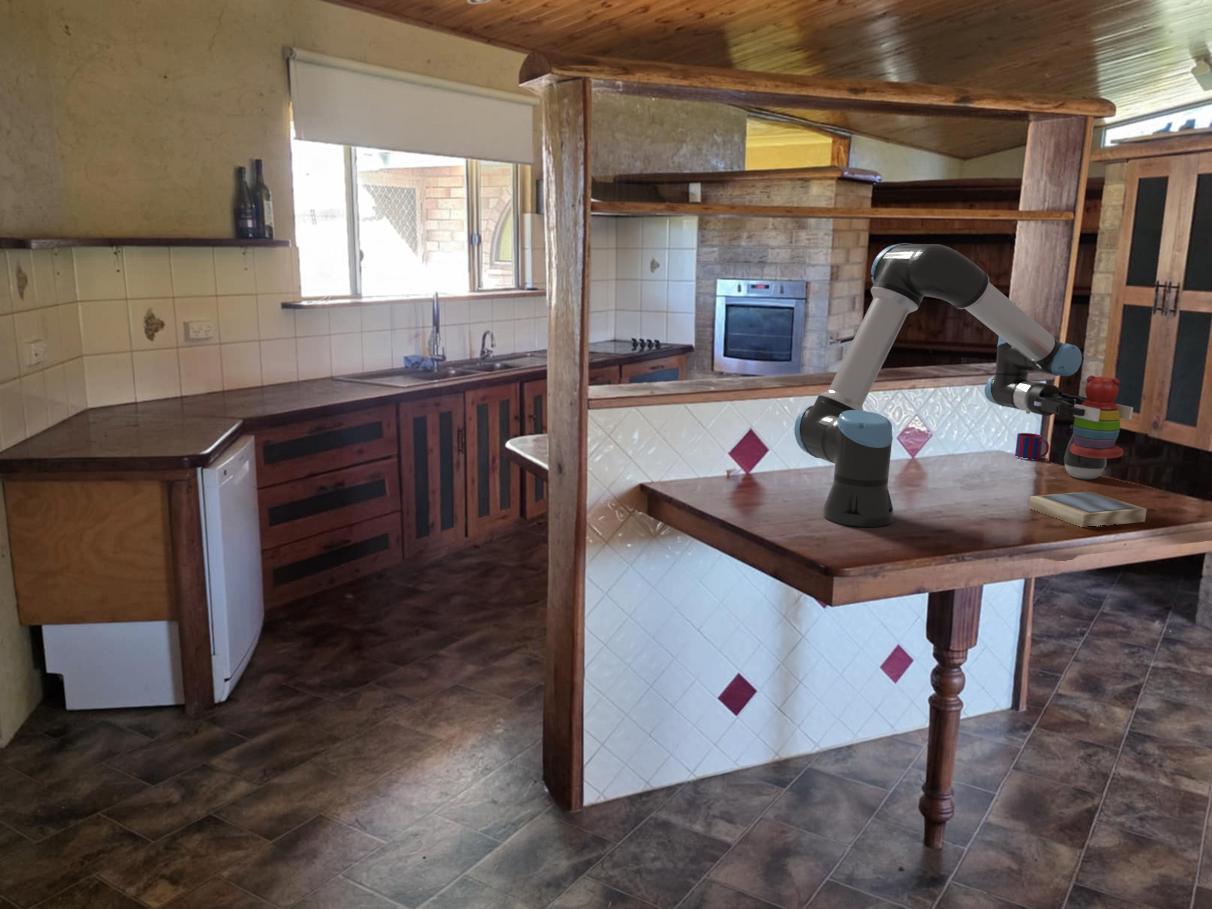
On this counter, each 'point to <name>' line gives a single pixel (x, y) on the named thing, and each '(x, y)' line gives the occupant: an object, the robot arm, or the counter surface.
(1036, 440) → the mug
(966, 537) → the counter surface
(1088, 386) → the stacking bear
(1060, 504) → the plinth
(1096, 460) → the pump dispenser
